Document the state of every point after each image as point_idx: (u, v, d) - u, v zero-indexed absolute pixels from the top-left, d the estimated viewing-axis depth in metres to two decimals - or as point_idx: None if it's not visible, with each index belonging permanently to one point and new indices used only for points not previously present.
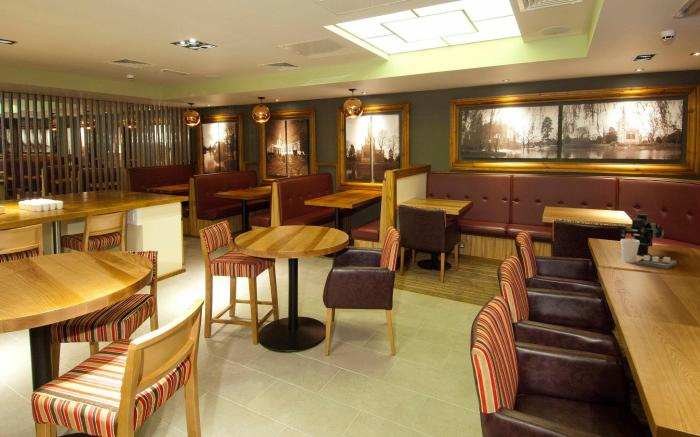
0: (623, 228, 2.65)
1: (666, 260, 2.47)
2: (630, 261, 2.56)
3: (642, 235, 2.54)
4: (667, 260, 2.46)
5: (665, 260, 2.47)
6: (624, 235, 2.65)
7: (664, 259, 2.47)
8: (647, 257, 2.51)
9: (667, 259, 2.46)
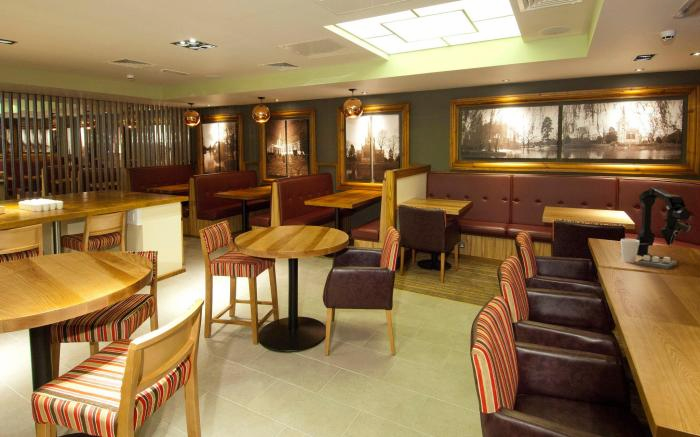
0: (673, 235, 2.44)
1: (666, 260, 2.47)
2: (630, 261, 2.56)
3: None
4: (667, 260, 2.46)
5: (665, 260, 2.47)
6: None
7: (664, 259, 2.47)
8: (647, 257, 2.51)
9: (667, 259, 2.46)
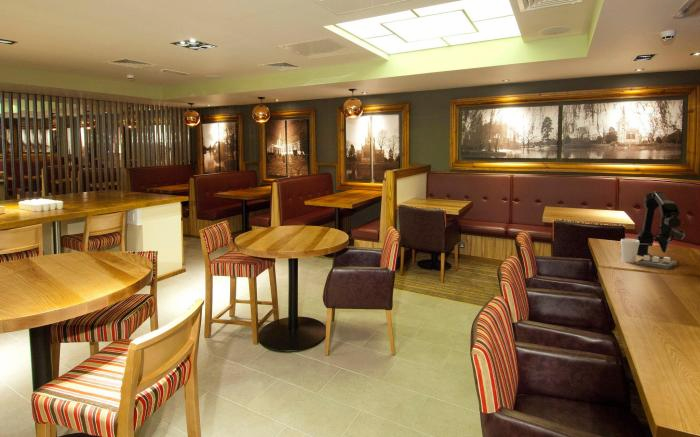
0: (668, 242, 2.39)
1: (666, 260, 2.47)
2: (630, 261, 2.56)
3: None
4: (667, 260, 2.46)
5: (665, 260, 2.47)
6: (660, 241, 2.43)
7: (664, 259, 2.47)
8: (647, 257, 2.51)
9: (667, 259, 2.46)
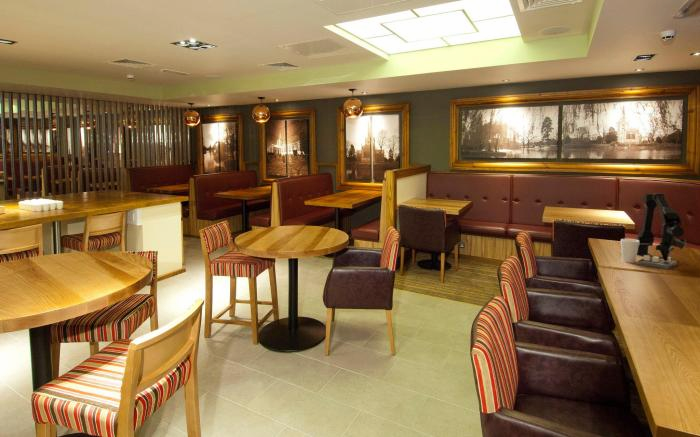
0: (670, 251, 2.43)
1: None
2: (630, 261, 2.56)
3: None
4: (667, 260, 2.47)
5: None
6: None
7: None
8: (647, 257, 2.51)
9: (667, 259, 2.47)
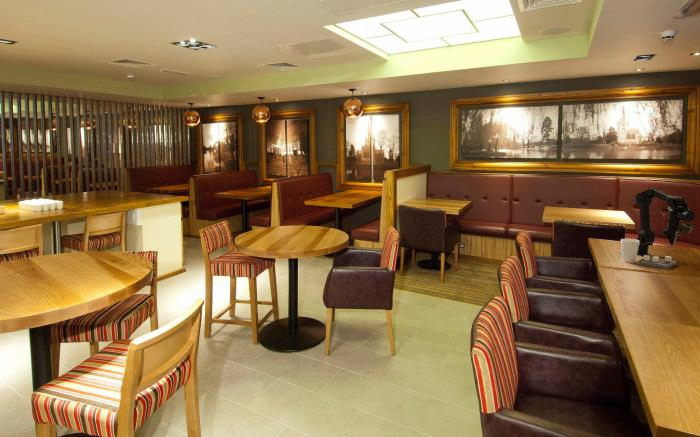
0: (676, 236, 2.49)
1: (667, 259, 2.48)
2: (630, 261, 2.56)
3: None
4: (668, 259, 2.48)
5: (666, 259, 2.49)
6: (668, 235, 2.53)
7: (665, 258, 2.49)
8: (647, 257, 2.51)
9: (668, 258, 2.48)
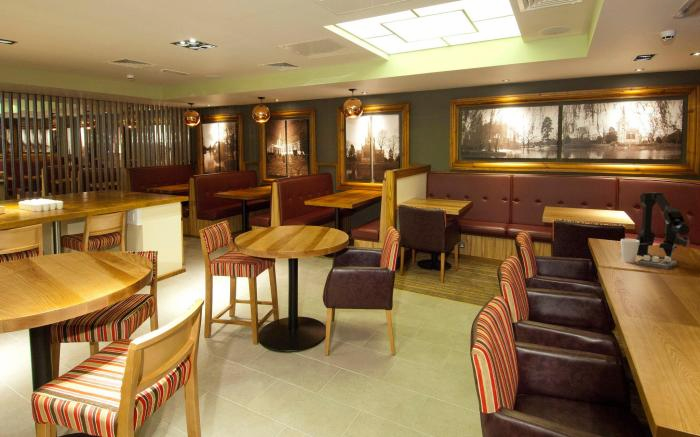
0: (673, 249, 2.47)
1: (667, 259, 2.48)
2: (630, 261, 2.56)
3: None
4: (668, 259, 2.47)
5: (666, 259, 2.48)
6: (665, 248, 2.50)
7: (665, 258, 2.49)
8: (647, 257, 2.51)
9: (668, 258, 2.47)
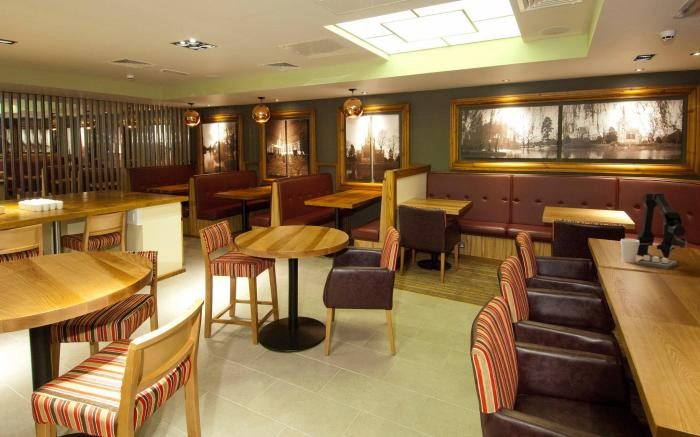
0: (671, 250, 2.44)
1: (665, 261, 2.45)
2: (630, 261, 2.56)
3: None
4: (666, 261, 2.44)
5: (664, 261, 2.45)
6: (662, 249, 2.47)
7: (663, 260, 2.46)
8: (647, 257, 2.51)
9: (666, 260, 2.44)
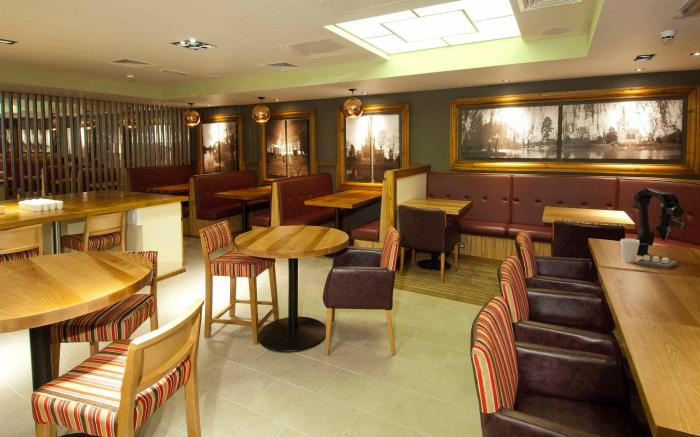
0: (668, 231, 2.51)
1: (665, 261, 2.45)
2: (630, 261, 2.56)
3: None
4: (666, 261, 2.44)
5: (664, 261, 2.45)
6: (660, 230, 2.55)
7: (663, 260, 2.45)
8: (647, 257, 2.51)
9: (666, 260, 2.44)
